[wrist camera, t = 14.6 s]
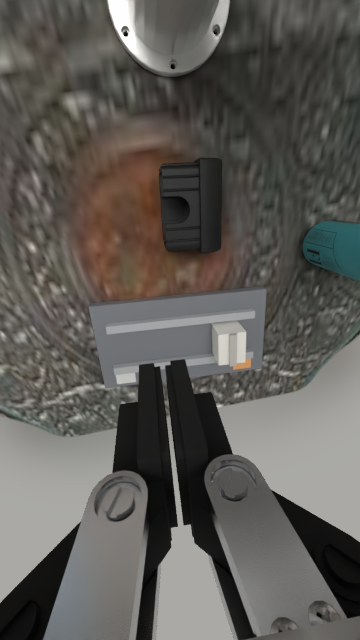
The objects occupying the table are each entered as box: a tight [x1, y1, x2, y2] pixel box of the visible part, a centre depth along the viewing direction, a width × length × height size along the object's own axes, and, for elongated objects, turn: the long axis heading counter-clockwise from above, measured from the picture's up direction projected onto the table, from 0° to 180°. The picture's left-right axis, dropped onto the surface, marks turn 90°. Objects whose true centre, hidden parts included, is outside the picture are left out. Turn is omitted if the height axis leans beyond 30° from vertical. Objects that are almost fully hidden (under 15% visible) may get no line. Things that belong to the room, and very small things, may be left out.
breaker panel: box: [89, 286, 267, 388], centre depth 44 cm, size 14×26×2 cm, turn 94°
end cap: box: [159, 158, 222, 254], centre depth 34 cm, size 10×7×7 cm
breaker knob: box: [212, 321, 246, 367], centre depth 42 cm, size 5×4×5 cm
